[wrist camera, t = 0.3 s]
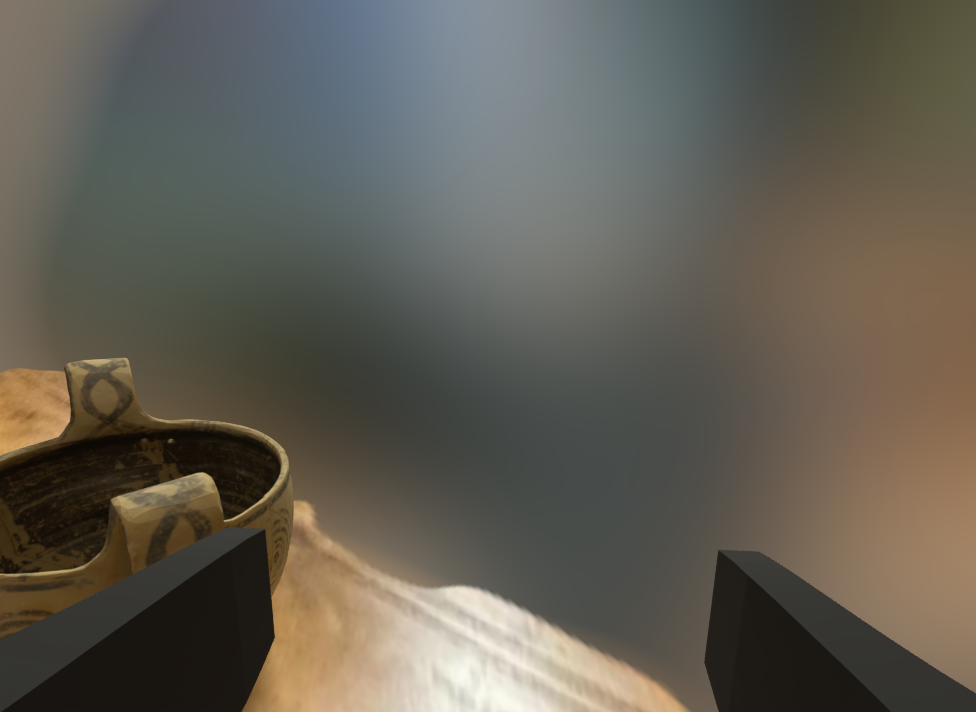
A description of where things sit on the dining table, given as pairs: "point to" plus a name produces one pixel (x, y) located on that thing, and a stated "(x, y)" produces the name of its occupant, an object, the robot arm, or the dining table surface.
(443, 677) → the dining table surface
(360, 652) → the dining table surface
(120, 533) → the ceramic bowl
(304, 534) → the dining table surface
